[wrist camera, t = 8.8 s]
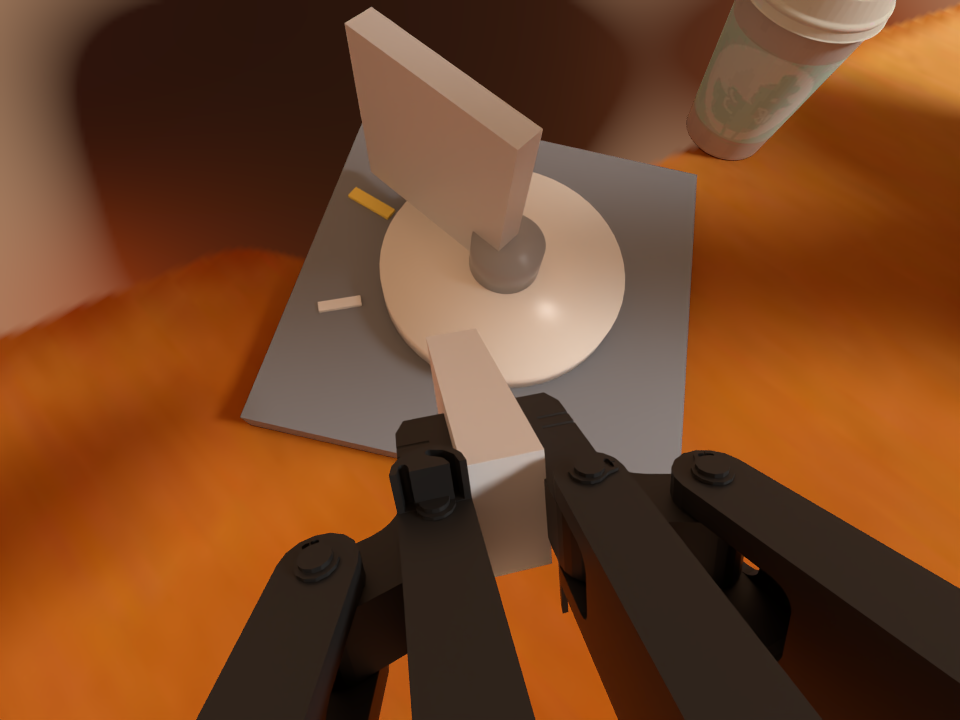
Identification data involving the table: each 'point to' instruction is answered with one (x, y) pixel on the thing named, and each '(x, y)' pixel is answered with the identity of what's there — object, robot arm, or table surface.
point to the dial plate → (582, 391)
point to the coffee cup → (774, 66)
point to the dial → (478, 216)
